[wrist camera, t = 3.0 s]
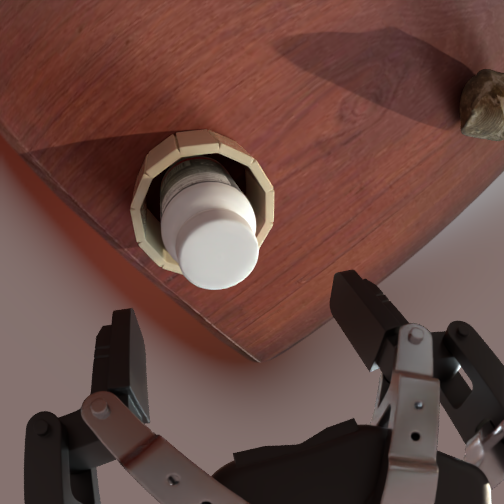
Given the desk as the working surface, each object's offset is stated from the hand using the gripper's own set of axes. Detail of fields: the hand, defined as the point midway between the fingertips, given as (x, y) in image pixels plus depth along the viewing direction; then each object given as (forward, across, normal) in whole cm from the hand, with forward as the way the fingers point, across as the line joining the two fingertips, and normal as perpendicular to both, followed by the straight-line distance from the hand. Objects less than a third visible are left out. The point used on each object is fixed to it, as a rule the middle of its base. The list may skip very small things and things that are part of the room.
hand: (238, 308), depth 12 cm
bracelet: (+14, 0, 0) cm, 14 cm away
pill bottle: (+14, 0, 0) cm, 14 cm away
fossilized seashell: (+14, -29, -8) cm, 33 cm away
